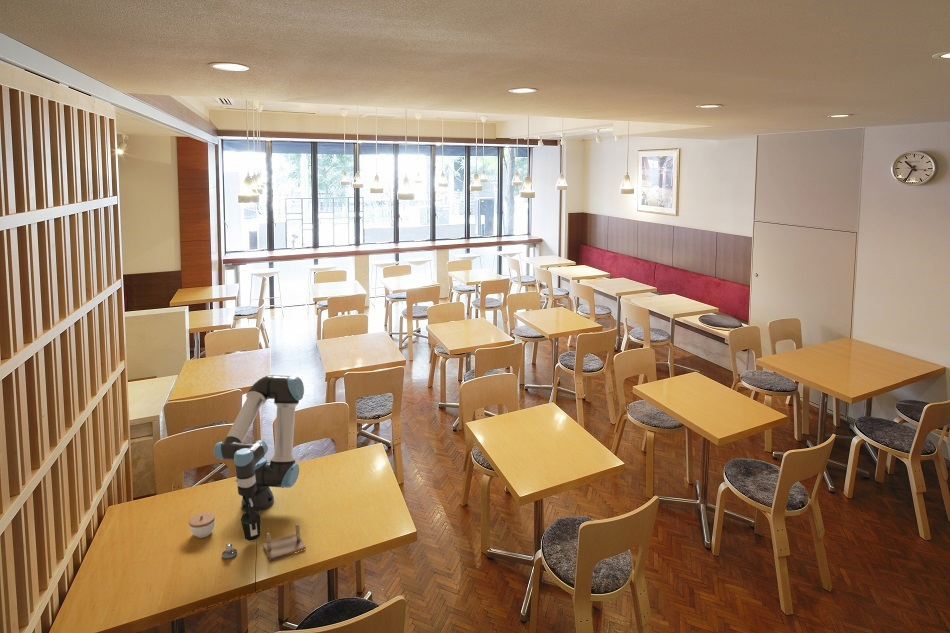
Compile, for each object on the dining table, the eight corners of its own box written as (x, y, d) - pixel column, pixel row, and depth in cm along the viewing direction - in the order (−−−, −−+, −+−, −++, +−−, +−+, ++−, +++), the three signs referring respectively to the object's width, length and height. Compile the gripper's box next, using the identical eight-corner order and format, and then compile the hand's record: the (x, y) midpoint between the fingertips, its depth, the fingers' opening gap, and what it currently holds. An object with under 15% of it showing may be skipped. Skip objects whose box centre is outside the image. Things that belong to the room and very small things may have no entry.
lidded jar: (191, 543, 258) (188, 524, 256) (190, 530, 267) (187, 512, 265) (217, 536, 263) (215, 518, 261) (215, 524, 272) (213, 506, 270)
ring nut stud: (221, 553, 251) (219, 543, 250) (235, 549, 254) (234, 539, 253) (223, 561, 246) (222, 550, 245) (238, 556, 249) (237, 546, 248)
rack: (263, 547, 255) (261, 527, 253) (297, 536, 263) (296, 517, 261) (270, 561, 246) (268, 541, 243) (305, 549, 253) (304, 530, 251)
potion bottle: (247, 530, 262) (243, 495, 257) (265, 530, 261) (261, 495, 257) (239, 542, 254) (235, 505, 249) (258, 542, 253) (254, 505, 249)
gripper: (232, 475, 257) (237, 520, 263) (242, 497, 240) (248, 545, 246) (250, 471, 261) (255, 515, 267) (261, 492, 244) (266, 539, 250)
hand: (251, 529), depth 257 cm, fingers closed on potion bottle, 8 cm apart
